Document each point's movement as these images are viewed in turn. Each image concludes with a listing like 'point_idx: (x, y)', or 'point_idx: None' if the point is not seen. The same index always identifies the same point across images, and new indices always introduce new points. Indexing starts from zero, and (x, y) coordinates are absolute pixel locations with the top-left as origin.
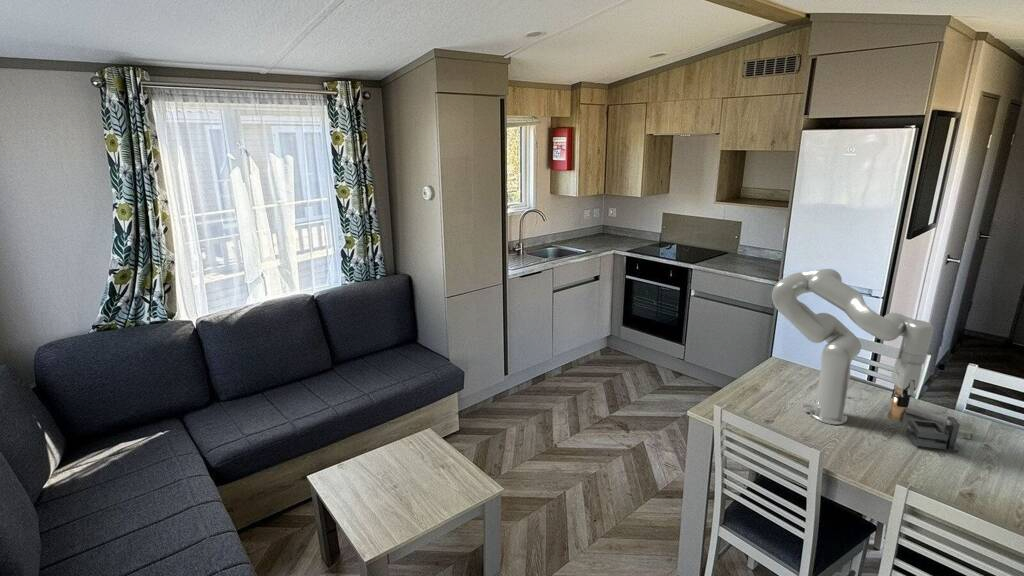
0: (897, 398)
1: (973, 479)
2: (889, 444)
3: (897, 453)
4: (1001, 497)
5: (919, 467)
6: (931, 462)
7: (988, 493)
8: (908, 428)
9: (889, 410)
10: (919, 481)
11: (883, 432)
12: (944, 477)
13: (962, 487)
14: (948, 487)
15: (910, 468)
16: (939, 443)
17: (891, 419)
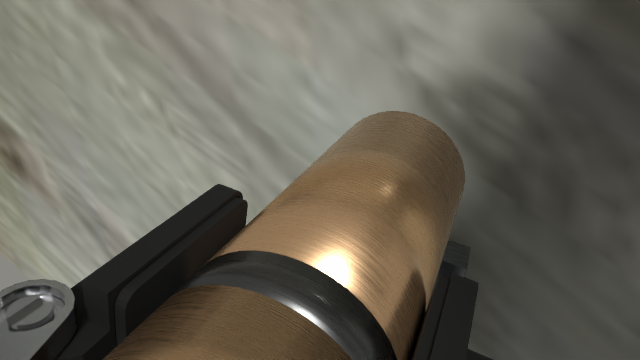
0: (210, 260)
1: (108, 249)
2: (346, 50)
3: (248, 40)
4: (33, 254)
5: (139, 81)
6: (192, 172)
7: (41, 231)
8: (446, 263)
9: (400, 143)
10: (30, 3)
11: (510, 105)
12: (91, 145)
13: (46, 167)
14: (29, 110)
15: (120, 25)
16: None
17: (364, 119)
